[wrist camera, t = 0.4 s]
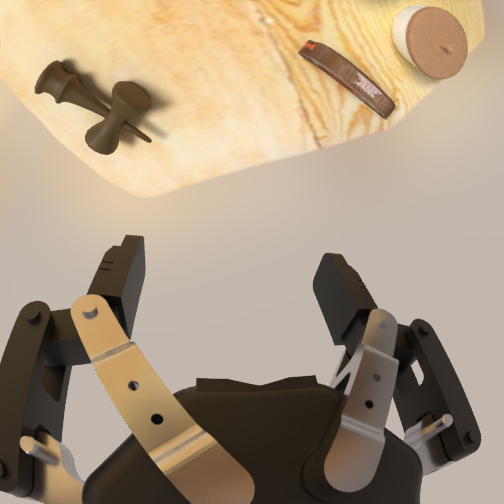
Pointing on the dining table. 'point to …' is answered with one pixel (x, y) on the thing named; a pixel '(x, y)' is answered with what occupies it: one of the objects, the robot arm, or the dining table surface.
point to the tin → (348, 76)
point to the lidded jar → (430, 40)
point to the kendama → (97, 106)
